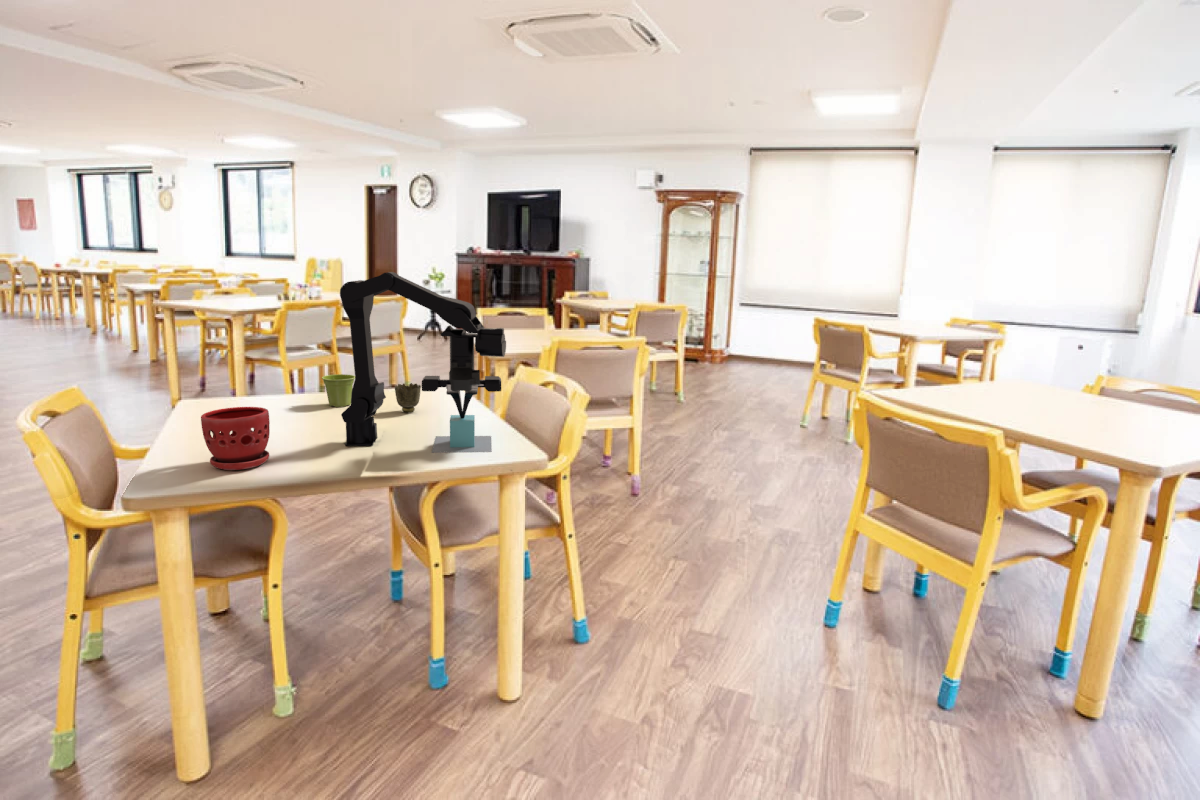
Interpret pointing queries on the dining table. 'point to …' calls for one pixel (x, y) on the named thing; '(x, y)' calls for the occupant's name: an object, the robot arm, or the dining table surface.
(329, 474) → the dining table surface
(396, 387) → the scalloped urn planter
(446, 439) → the base board
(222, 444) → the plant pot
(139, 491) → the dining table surface
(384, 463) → the dining table surface
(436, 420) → the dining table surface
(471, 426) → the teal block
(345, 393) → the plant pot
